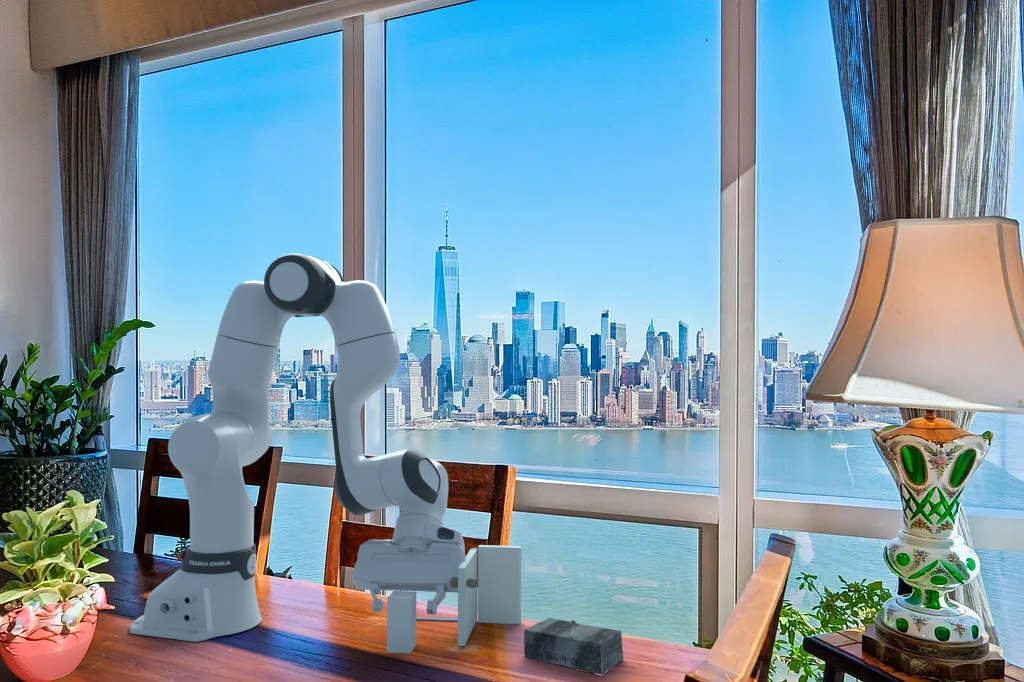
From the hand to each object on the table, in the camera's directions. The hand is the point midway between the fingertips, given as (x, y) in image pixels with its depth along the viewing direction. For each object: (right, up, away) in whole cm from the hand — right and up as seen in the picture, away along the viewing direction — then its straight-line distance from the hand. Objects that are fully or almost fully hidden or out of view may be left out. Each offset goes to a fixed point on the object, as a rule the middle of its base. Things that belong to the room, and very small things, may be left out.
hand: (403, 611), depth 131 cm
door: (+11, -6, +6) cm, 14 cm away
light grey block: (0, -6, -1) cm, 6 cm away
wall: (+9, -6, +13) cm, 17 cm away
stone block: (+29, -6, -5) cm, 30 cm away
